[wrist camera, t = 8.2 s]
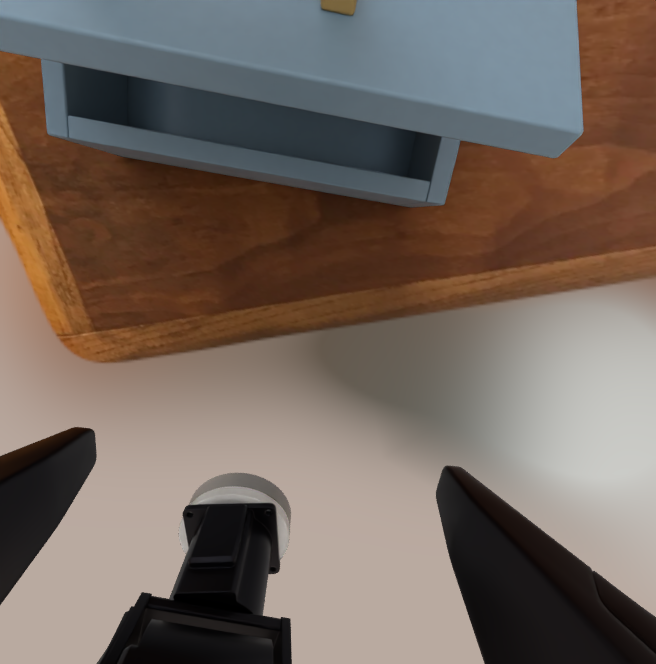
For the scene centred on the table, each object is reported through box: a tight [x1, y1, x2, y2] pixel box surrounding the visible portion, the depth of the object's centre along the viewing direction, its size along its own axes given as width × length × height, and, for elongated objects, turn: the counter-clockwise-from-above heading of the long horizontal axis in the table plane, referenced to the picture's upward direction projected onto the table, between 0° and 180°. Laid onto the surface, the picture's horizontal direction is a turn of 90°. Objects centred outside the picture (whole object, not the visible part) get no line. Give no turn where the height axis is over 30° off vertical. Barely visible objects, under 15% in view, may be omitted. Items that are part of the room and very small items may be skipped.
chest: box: [41, 59, 461, 207], centre depth 14 cm, size 12×16×5 cm
